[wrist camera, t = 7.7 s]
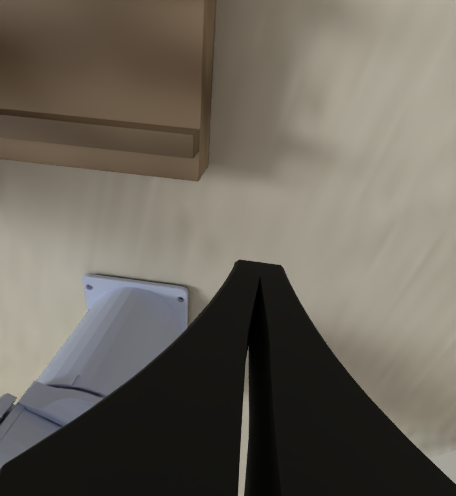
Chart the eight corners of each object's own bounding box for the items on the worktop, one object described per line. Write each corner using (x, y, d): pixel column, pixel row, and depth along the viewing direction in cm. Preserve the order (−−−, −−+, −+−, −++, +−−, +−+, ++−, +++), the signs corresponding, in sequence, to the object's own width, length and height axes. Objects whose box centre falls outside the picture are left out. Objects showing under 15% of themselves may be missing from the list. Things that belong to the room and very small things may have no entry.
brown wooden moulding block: (208, 165, 18) (192, 191, 14) (-77, 134, 19) (-165, 149, 15) (219, -69, 13) (198, -128, 9) (-170, -95, 14) (-338, -159, 10)
